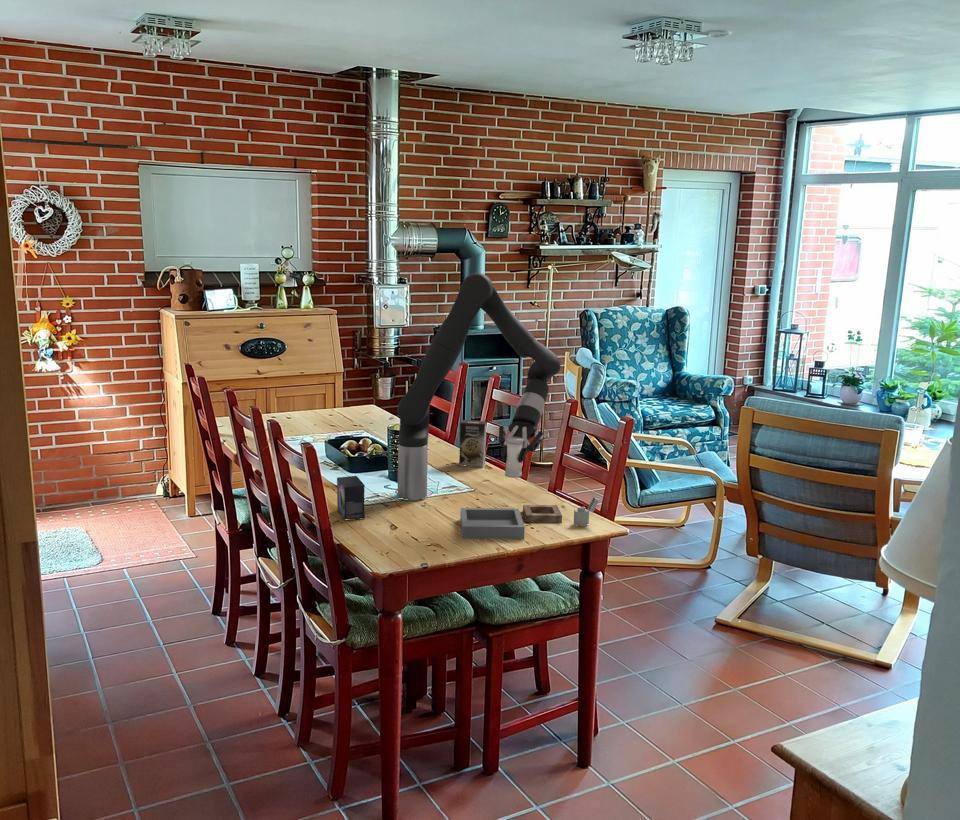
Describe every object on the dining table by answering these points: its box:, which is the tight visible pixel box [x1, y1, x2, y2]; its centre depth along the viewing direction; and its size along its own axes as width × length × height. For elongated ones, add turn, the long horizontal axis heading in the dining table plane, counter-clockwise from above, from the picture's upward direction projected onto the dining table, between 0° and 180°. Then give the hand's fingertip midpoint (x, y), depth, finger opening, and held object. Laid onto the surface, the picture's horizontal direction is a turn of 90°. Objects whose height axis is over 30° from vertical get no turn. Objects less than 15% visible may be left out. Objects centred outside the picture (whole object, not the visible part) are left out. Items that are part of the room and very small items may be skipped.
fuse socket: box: [522, 504, 563, 523], centre depth 265 cm, size 10×10×2 cm
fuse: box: [504, 436, 524, 479], centre depth 254 cm, size 5×5×11 cm
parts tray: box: [460, 507, 526, 540], centre depth 252 cm, size 17×17×4 cm
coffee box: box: [458, 419, 487, 467], centre depth 322 cm, size 9×6×16 cm
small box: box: [336, 475, 366, 520], centre depth 261 cm, size 11×6×10 cm, turn 21°
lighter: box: [573, 496, 600, 526], centre depth 258 cm, size 7×2×8 cm, turn 105°
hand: (511, 459), depth 252 cm, fingers closed on fuse, 4 cm apart
